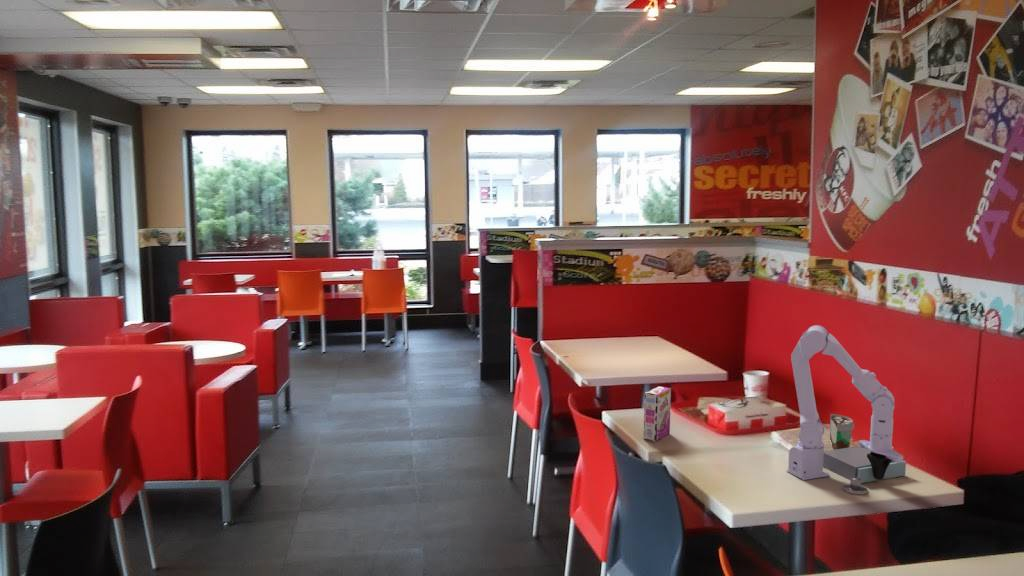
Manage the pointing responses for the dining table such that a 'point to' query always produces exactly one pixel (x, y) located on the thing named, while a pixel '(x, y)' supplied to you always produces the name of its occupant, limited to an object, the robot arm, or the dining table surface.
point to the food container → (840, 431)
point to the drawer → (891, 472)
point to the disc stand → (855, 487)
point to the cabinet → (847, 461)
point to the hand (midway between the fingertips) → (878, 478)
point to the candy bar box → (657, 413)
